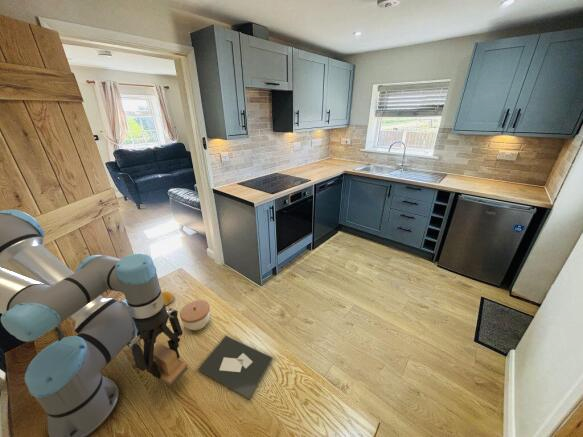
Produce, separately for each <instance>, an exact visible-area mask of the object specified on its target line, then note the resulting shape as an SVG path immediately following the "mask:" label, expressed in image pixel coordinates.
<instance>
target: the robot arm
mask: <svg viewBox="0 0 583 437" xmlns="http://www.w3.org/2000/svg"><path fill="white" fill-rule="evenodd" d="M44 237H45V230H44V228H43V226H41V225H40V222H39V221H38V220H37V219H36V218H34V217H33V216H31V215H30V214H29V213H27V212H24V211H22V210H19V209H5V210H0V314H2V315H1V316H0V323H1V325H2V327H3V328H4V329H5V330H6V331H7V332H8V334H10V335H11V336H13V337H15V338H16V339H17V340H19V341H22V342H27V343H28V342H33V341H36V340H37V339H39V338H41V337H42V336H43V335H46V334H47V333H48V332H50V331H52V330H54V329H55V331H56V332H57V334H58V338H57V340H55V341H53V342H51V343H50V344H48V345H47V346H46V347H44V348H43V349H42V350H40V351H39V352H38V353H37V354H36V355H35V357H33V359H32V360H31V361H30V362H29V364H28V365H27V368H26V372H25V374H24V383H25V385H26V387H27V389H28V392H29V395H31V396H32V397H34V398H35V400H36V401H37V402H38V404H39V405H40V406H41V408H42V410H44V411H45V413H46V414H47V427H46V428H47V433H48V436H49V437H90V436H91V435H92V434H94V433H95V432H96V431H97V430H99V429H100V428H101V427H102V426H103V425H104V424H105V423H106V422H107V421H108V419H109V418H110V417H111V416H112V414H113V412H114V411H115V410H116V407H117V406H118V402H119V399H120V390H119V387H118V386H117V384H116V382H115V381H114V380H112V379H110V378H108V377H107V376H104V375H102V373H101V371H102V370H103V369H104V368H105V367H106V366H107V365H108V364H109V363H110V362H111V361H112V360H114V358H115V357H116V356H118V355H119V353H121V352H122V351H123V349H125V348H126V347H128V348H130V351H131V354H132V357H133V362H134V365H135V368H136V369H138V370H139V371H141V372H145V371H146V372H147V373H148V374H150V375H152V377H154V378H156V379H157V380H159V379H160V377H161V375H160V372H159V369H158V367H157V364H156V362H155V361H153V355H154V347H155V344H156V343H157V338H158V336H160V335H161V334H162V333H163V334H164V335H165V336H166V337H167V338H168V339H169V340H167V345H168V348H170V349H172V350H173V351H175V352H176V355H177V358H178V359H180V353H179V349H178V348H179V347H180V343H179V342H181V338H179V337H180V336H182V335H183V333H184V332H183V329H182V326H181V323H180V321H179V318H178V314H179V313H178V310H176V309H174V308H172V307H170V308H169V309H167V306H165V304H164V300H163V296H162V293H161V292H162V290H161V285H160V282H159V277H158V273H157V268H156V266H155V264H154V261H153V258H152V257H151V255H149V254H147V253H144V252H139V253H131V254H128V255H125V256H123V257H122V258H118V257H114V256H112V255H111V256H110V255H101V254H93V255H89V256H87V257H85V258H84V259H82V261H81V262H80V263H79V264H78V265H77V267H76V271H75V272H74V271H73V270H71V268H69V267H68V266H67V265H66V264H65V263H64V262H62V261H61V260H60V259H59V258H57V256H55V255H54V254H52V253H51V251H49V250H48V249H47V248H46V247H44V246H45V241H46V240H45V238H44ZM6 268H8V269H9V270H8V269H6ZM107 291H114V292H119V293H123V295H124V298H125V299H122V300H120V301H119V302H117V301H116V300H115V299H116V298H115V297H111V298H105V297H104V296H102V295H103V294H104V293H106V292H107ZM167 310H168V311H167ZM68 319H70V320H72V321H73V322H74V328H73V331H74V332H75V333H76V335H69V336H65V337H64V336H63V335H64V334H63V332H62V330H61V328H60V327H59V325H61V324H62V323H64V322H65V321H66V320H68ZM168 321H169V323H170V326H171V328H172V330H171V329H170V328H169V326H168V325H167V324H168ZM141 341H142V342H143V349H142V343H141Z"/></svg>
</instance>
